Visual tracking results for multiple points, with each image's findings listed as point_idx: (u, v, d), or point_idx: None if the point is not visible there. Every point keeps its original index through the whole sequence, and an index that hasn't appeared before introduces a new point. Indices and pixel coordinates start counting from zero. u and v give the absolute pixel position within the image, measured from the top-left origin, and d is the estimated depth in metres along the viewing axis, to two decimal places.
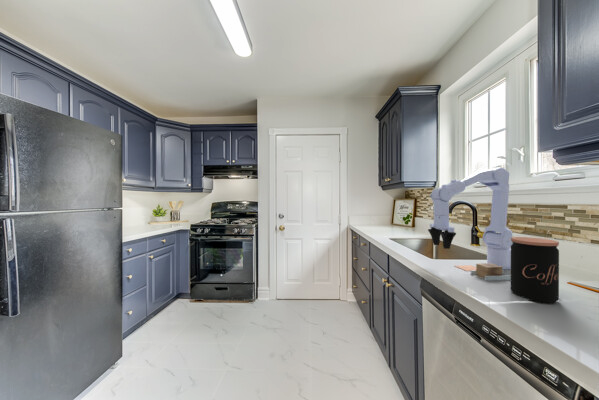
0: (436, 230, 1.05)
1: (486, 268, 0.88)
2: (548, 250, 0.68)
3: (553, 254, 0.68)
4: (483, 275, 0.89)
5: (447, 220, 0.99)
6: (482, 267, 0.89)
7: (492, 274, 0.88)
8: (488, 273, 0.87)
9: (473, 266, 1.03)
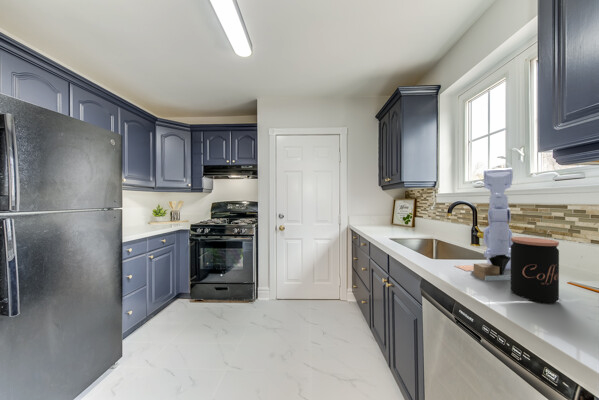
0: None
1: (483, 268, 0.88)
2: (548, 250, 0.68)
3: (553, 254, 0.68)
4: (480, 275, 0.89)
5: (498, 245, 0.88)
6: (479, 267, 0.89)
7: (489, 274, 0.88)
8: (485, 273, 0.87)
9: (473, 266, 1.03)
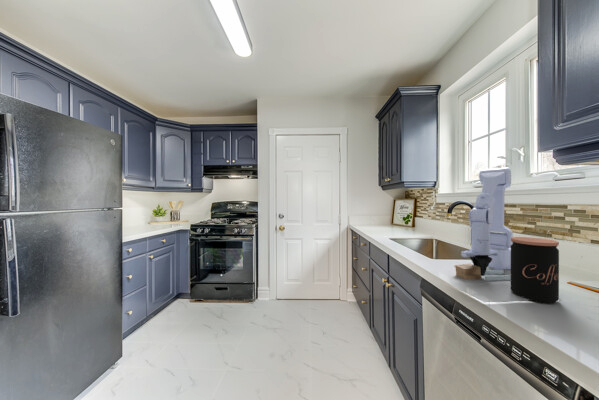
0: None
1: (464, 270, 0.88)
2: (548, 250, 0.68)
3: (553, 254, 0.68)
4: (462, 277, 0.89)
5: (477, 245, 0.88)
6: (460, 269, 0.90)
7: (470, 275, 0.88)
8: (466, 275, 0.88)
9: None
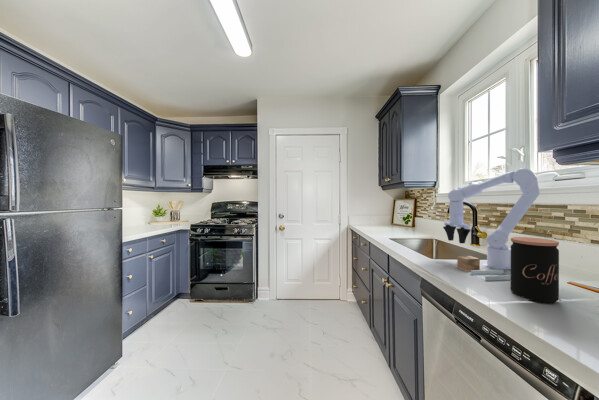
0: (451, 227, 1.19)
1: (465, 260, 0.99)
2: (548, 250, 0.68)
3: (553, 254, 0.68)
4: (463, 266, 1.00)
5: (462, 218, 1.13)
6: (462, 259, 1.01)
7: (470, 265, 0.99)
8: (467, 264, 0.98)
9: None
